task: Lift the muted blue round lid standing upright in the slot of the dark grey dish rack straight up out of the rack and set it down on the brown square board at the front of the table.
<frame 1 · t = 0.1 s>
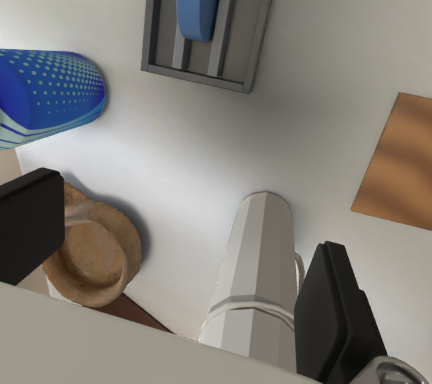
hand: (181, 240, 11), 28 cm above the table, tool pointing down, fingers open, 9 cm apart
bowl: (99, 223, 47), on the table
dish rack: (212, 0, 33), on the table
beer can: (80, 88, 39), on the table
letter holder: (137, 329, 54), on the table
water bottle: (270, 218, 41), on the table
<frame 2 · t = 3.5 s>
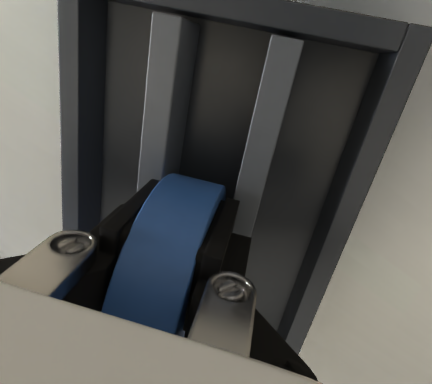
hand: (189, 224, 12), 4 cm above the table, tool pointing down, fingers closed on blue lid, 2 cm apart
blue lid: (203, 201, 14), point 1 cm above the table, tilted 27°, touching dish rack, gripper
dish rack: (209, 189, 16), on the table
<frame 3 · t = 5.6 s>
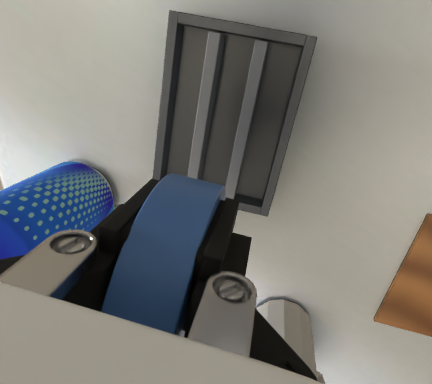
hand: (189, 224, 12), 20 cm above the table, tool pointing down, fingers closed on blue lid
blue lid: (202, 201, 14), point 18 cm above the table, tilted 27°, touching gripper
dish rack: (228, 117, 31), on the table
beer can: (86, 191, 37), on the table
water bottle: (287, 321, 39), on the table
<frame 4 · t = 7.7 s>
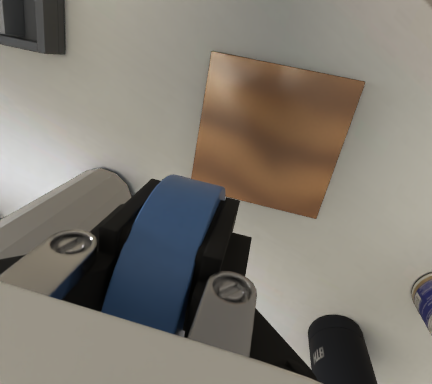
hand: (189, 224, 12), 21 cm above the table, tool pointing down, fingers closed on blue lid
blue lid: (202, 202, 14), point 19 cm above the table, tilted 26°, touching gripper
brown square board: (267, 140, 31), on the table
wine bottle: (334, 333, 39), on the table
water bottle: (114, 198, 38), on the table
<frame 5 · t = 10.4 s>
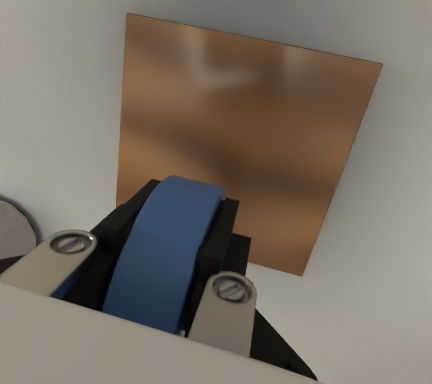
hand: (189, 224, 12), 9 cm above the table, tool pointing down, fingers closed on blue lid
blue lid: (202, 203, 14), point 6 cm above the table, tilted 26°, touching gripper
brown square board: (225, 158, 20), on the table
water bottle: (15, 235, 26), on the table
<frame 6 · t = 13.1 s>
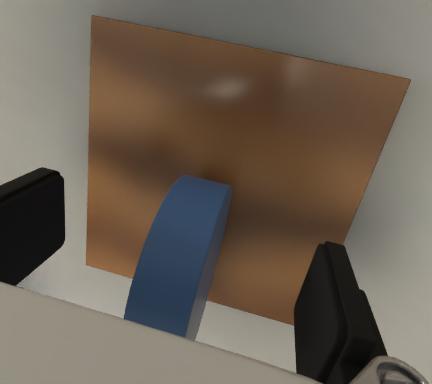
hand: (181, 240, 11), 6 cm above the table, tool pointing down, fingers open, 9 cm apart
blue lid: (210, 199, 16), point 1 cm above the table, tilted 28°, touching brown square board
brown square board: (214, 189, 16), on the table
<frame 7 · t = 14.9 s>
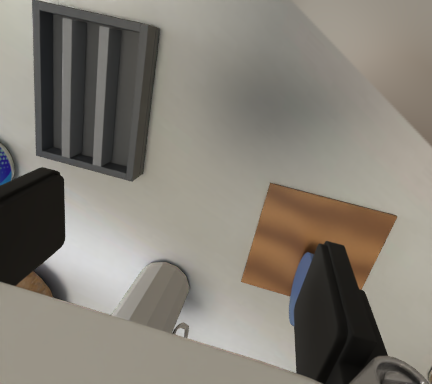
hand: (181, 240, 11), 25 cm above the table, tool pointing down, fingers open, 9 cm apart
bowl: (20, 279, 49), on the table
blue lid: (312, 257, 37), point 1 cm above the table, tilted 33°, touching brown square board
brown square board: (311, 250, 37), on the table
dish rack: (100, 95, 35), on the table
water bottle: (172, 283, 43), on the table
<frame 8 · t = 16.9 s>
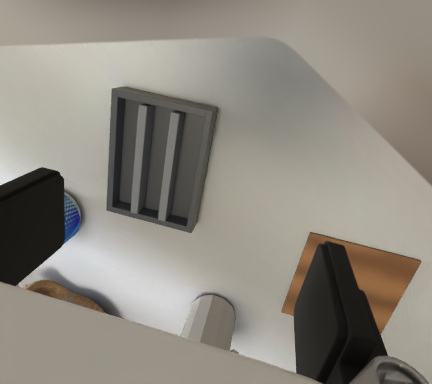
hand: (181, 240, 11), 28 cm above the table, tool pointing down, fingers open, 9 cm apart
bowl: (79, 306, 55), on the table
brown square board: (345, 287, 43), on the table
dish rack: (162, 159, 41), on the table
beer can: (60, 209, 48), on the table
water bottle: (218, 312, 50), on the table
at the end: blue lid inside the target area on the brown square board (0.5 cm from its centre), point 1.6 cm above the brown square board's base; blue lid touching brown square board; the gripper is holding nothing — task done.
